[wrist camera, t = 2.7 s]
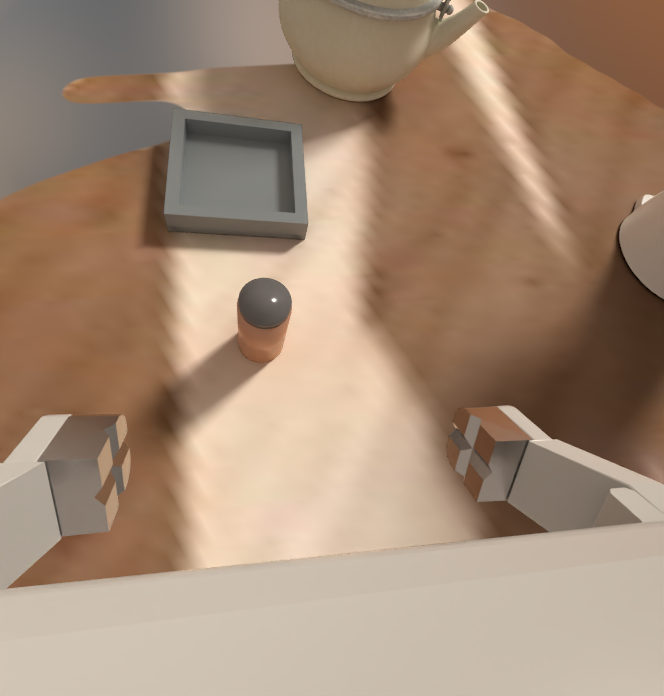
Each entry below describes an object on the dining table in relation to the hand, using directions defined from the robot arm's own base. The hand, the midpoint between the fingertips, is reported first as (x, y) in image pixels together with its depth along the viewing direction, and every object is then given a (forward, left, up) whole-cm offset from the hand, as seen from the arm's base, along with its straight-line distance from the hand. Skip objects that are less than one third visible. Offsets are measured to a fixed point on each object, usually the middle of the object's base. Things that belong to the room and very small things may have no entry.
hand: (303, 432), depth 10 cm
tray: (+2, -30, -24) cm, 39 cm away
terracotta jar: (0, -12, -24) cm, 27 cm away
